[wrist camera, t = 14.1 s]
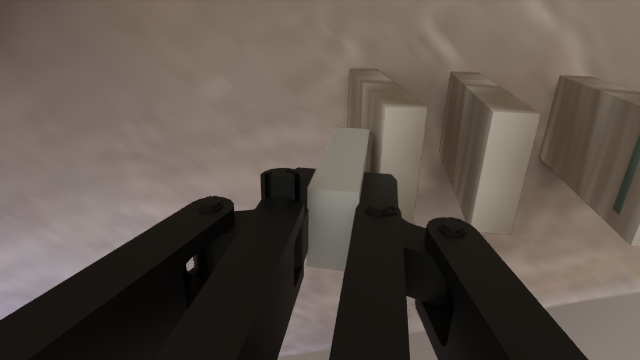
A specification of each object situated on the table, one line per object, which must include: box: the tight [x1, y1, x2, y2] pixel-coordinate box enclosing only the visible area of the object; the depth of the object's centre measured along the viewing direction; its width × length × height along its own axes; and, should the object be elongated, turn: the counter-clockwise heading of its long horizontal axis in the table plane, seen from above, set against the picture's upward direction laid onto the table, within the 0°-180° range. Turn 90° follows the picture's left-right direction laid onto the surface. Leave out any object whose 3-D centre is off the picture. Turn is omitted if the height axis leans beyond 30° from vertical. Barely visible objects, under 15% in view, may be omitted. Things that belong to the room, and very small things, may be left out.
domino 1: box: [348, 69, 428, 224], centre depth 20 cm, size 2×5×10 cm, turn 179°
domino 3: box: [539, 76, 640, 247], centre depth 19 cm, size 2×5×10 cm, turn 179°
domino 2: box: [439, 72, 540, 235], centre depth 19 cm, size 2×5×10 cm, turn 179°
